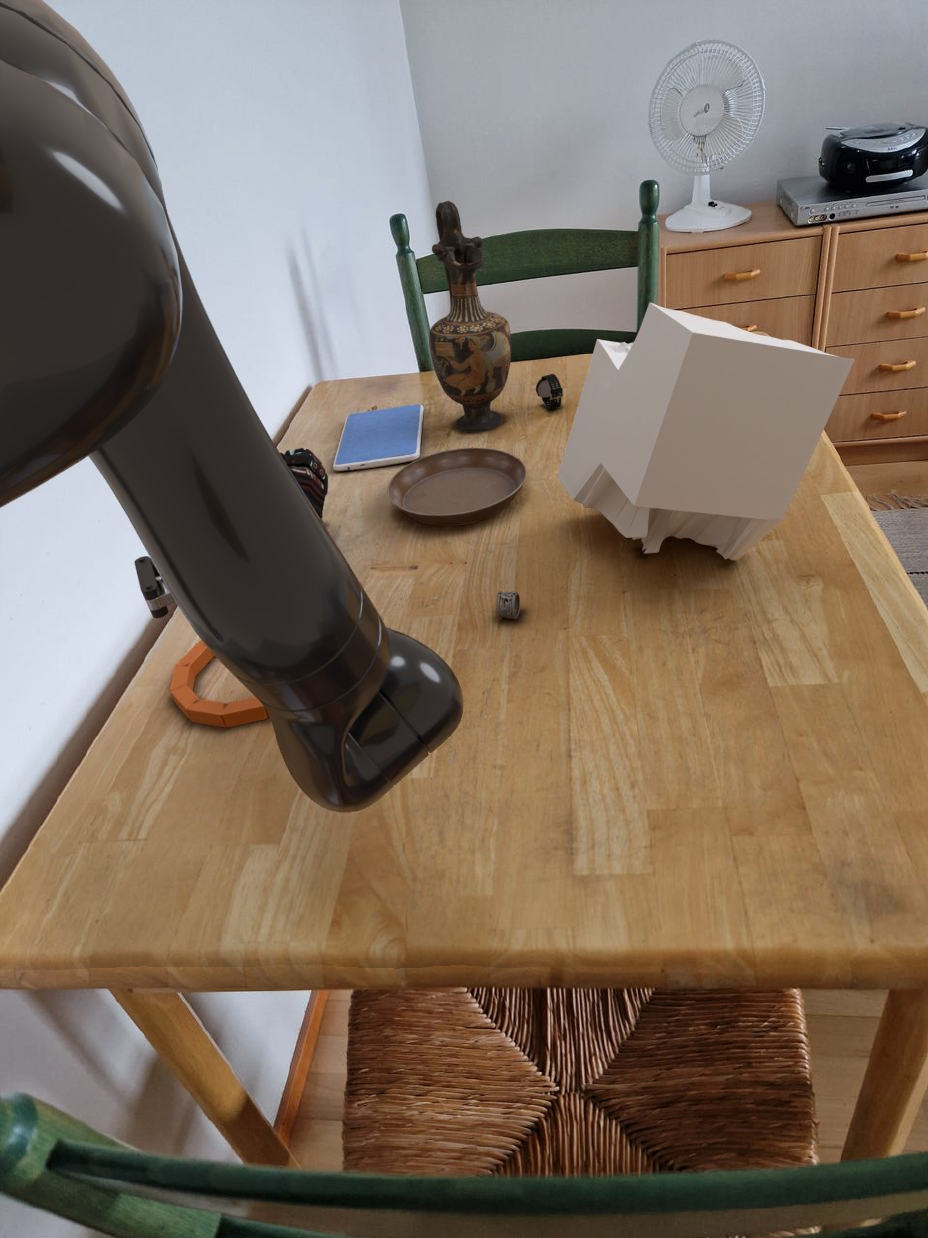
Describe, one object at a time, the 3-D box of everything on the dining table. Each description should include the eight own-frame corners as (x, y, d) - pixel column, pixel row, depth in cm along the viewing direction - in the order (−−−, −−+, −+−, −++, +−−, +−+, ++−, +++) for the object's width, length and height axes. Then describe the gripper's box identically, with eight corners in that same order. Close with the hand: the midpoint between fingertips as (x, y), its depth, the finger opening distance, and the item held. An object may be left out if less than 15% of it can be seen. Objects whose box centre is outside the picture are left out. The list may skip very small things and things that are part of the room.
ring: (216, 749, 74) (210, 736, 73) (154, 679, 84) (148, 667, 83) (352, 669, 81) (348, 656, 80) (280, 612, 91) (275, 600, 90)
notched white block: (547, 498, 97) (609, 274, 84) (670, 511, 101) (747, 299, 88) (603, 591, 81) (691, 332, 67) (747, 602, 85) (855, 359, 72)
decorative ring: (503, 608, 85) (500, 583, 84) (521, 608, 85) (518, 584, 83) (497, 624, 83) (494, 600, 81) (516, 625, 83) (513, 600, 81)
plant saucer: (539, 520, 99) (537, 497, 97) (393, 545, 99) (388, 523, 97) (518, 458, 113) (515, 438, 111) (390, 481, 113) (386, 460, 112)
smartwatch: (564, 400, 127) (562, 368, 125) (564, 413, 123) (561, 381, 120) (537, 403, 128) (534, 371, 125) (536, 416, 124) (533, 384, 121)
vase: (451, 444, 120) (414, 220, 103) (435, 415, 130) (399, 206, 113) (529, 426, 121) (505, 202, 104) (507, 399, 131) (482, 190, 114)
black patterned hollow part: (365, 559, 98) (353, 488, 107) (283, 478, 87) (278, 407, 96) (294, 601, 100) (288, 528, 109) (206, 526, 90) (208, 452, 99)
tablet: (420, 462, 117) (418, 453, 116) (332, 474, 118) (330, 465, 117) (425, 410, 133) (423, 402, 132) (347, 421, 134) (346, 413, 133)
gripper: (343, 520, 59) (258, 456, 72) (148, 603, 54) (93, 518, 66) (365, 606, 64) (282, 531, 76) (187, 690, 58) (128, 595, 71)
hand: (194, 525), depth 71 cm, fingers closed on supplement box, 6 cm apart
